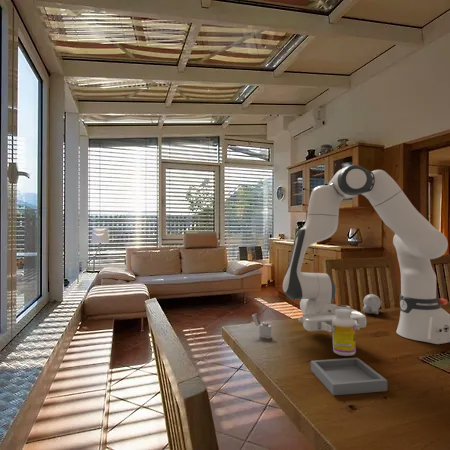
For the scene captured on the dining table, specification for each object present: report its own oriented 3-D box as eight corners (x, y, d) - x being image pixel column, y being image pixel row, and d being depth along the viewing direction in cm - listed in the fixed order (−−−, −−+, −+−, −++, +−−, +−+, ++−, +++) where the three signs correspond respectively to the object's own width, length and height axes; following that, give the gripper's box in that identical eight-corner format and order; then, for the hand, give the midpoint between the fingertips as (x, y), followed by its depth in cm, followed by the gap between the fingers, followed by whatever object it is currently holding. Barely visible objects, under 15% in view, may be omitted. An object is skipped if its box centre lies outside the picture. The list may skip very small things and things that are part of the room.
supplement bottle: (357, 357, 99) (356, 313, 100) (334, 356, 101) (332, 312, 101) (353, 349, 106) (352, 307, 106) (331, 348, 107) (330, 307, 107)
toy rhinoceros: (383, 317, 153) (385, 299, 156) (377, 313, 144) (379, 293, 147) (367, 315, 158) (369, 297, 160) (360, 310, 149) (362, 291, 151)
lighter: (271, 337, 122) (271, 315, 121) (269, 339, 120) (269, 316, 120) (253, 334, 125) (253, 312, 125) (251, 335, 124) (251, 313, 124)
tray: (357, 366, 97) (357, 357, 97) (387, 390, 83) (387, 380, 83) (310, 370, 95) (310, 360, 95) (333, 395, 81) (333, 384, 81)
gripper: (296, 308, 115) (312, 320, 101) (352, 305, 117) (375, 316, 104) (296, 327, 115) (312, 341, 101) (353, 323, 118) (376, 336, 104)
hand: (345, 328), depth 102 cm, fingers closed on supplement bottle, 6 cm apart
